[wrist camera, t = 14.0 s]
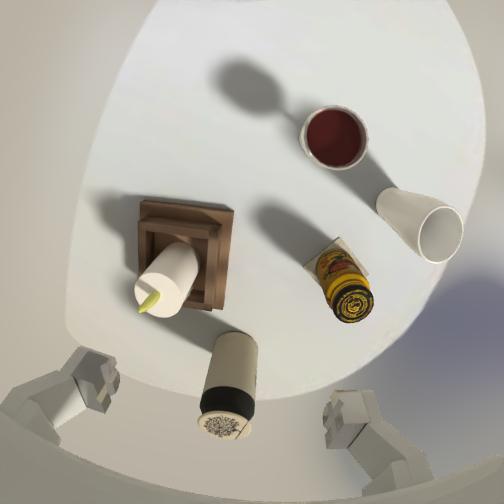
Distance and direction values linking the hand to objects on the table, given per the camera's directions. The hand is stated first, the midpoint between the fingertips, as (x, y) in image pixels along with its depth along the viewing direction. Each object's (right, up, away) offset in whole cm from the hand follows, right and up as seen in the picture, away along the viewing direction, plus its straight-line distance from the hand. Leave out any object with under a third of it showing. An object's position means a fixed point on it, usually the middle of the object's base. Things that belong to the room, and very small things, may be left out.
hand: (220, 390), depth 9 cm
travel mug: (-2, -13, +41) cm, 43 cm away
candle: (-10, +3, +33) cm, 35 cm away
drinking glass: (+22, +12, +30) cm, 39 cm away
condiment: (+14, +2, +34) cm, 37 cm away
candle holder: (-9, +4, +34) cm, 36 cm away
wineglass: (+10, +21, +27) cm, 36 cm away
